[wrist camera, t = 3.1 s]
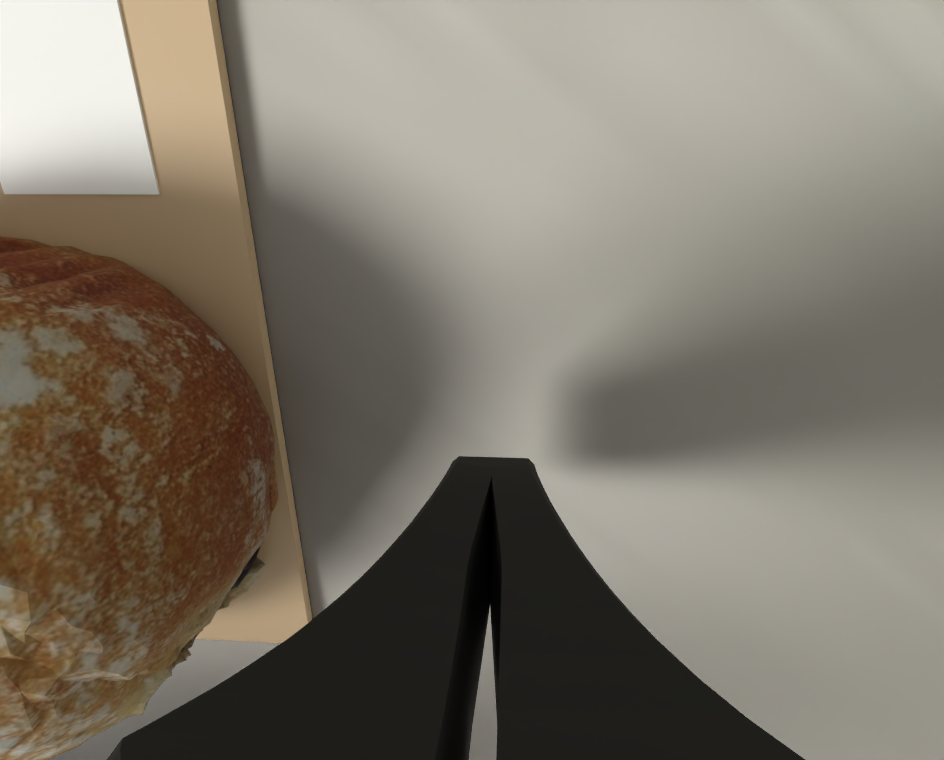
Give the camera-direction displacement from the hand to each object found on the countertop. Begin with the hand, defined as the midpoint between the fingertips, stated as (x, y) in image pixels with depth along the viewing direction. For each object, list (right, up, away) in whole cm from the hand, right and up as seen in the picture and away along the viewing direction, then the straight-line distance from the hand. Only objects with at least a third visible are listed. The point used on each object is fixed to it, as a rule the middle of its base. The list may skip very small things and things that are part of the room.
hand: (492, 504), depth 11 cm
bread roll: (-9, +1, +2) cm, 10 cm away
